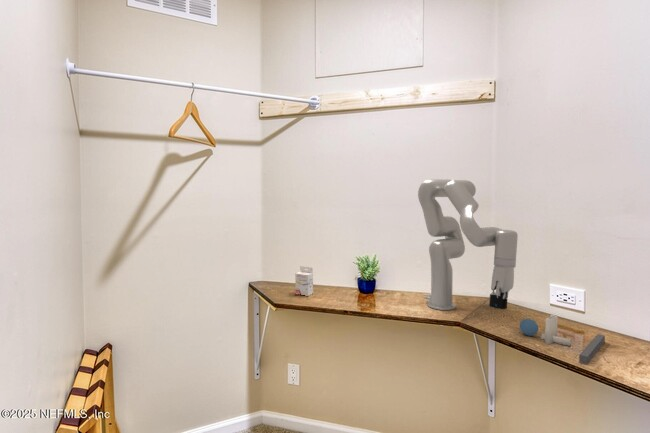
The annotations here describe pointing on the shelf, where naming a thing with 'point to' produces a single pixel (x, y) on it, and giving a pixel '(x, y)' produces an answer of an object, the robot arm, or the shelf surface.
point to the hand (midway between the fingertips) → (501, 307)
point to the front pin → (558, 340)
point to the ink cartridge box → (304, 281)
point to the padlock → (493, 300)
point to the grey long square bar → (591, 349)
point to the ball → (529, 327)
